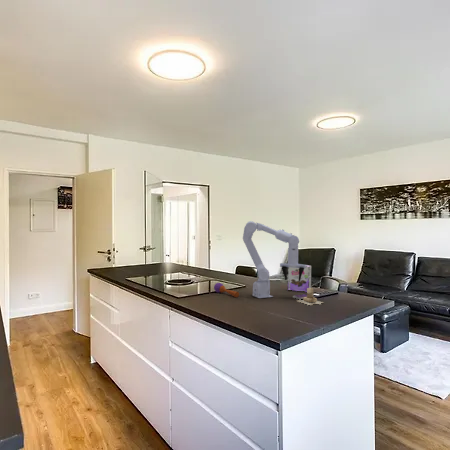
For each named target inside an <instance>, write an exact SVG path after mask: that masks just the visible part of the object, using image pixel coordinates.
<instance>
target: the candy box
mask: <svg viewBox="0 0 450 450" xmlns="http://www.w3.org/2000/svg"><path fill="white" fill-rule="evenodd" d="M305 265H306V268H304V271H303V273H302V275H301V280H300V281H299V268H293V267H296V266H292V267H287V291H288V290H292V291H291V292H297V291H305V292H304V293H306V292H307V288H312V265H308V264H305Z"/></svg>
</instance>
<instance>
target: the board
mask: <svg viewBox="0 0 450 450" xmlns="http://www.w3.org/2000/svg"><path fill="white" fill-rule="evenodd" d="M296 302H297V303H300V302H301V303H300V304H302V303H304V304H303V305H305V304H307V305H306V306H308V305H310V306H314V305H313V304H319V305H322V304H321V303H324V302H323V301H320V300H317V302H313V303H308V302H305V301H304V300H298V299H296Z"/></svg>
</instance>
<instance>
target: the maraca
mask: <svg viewBox="0 0 450 450" xmlns="http://www.w3.org/2000/svg"><path fill="white" fill-rule="evenodd" d="M213 289H214V291H215V292H216V293H219V294H220V293H222V294H223V293H225V292H226V293H228V294H230V296H232V297H234V298H239V297H240V293H239V291H236V290H231V289H227V288H226V286H225V285H224V284H223V283H221V282H216V283H215V284H214V286H213Z"/></svg>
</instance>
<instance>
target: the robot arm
mask: <svg viewBox="0 0 450 450" xmlns="http://www.w3.org/2000/svg"><path fill="white" fill-rule="evenodd" d="M256 231H258V232H265V233H268V234H270V235H273V236H274V237H275V239H276V240H278V241H281V242H283V243H286V244H287V243H288V248H287V263H285V262H284V263H279V267H280V268H281V271H282V272H283V275H284V276H283V277H284V281H288V267H292V266H296V267H293V268H299V281H300V280H301V275H302V273H303V271H304V268H306V265H307V264H302V263H299V243H300V239H299V237H298V236H297V235H295V234H293V233H291V232H290V233H289V232H287V231H286V230H285V229H274V228H272V227H270V226H268V225H265V224H262V223H260V222H255V221H252V220H250V221H247V223H245V225H244V228H243V234H242V240H243V243H244V244H245V247H246V249H247V252H248V253H249V255H250V258H251V260H252V261H253V264H254V266H255V268H256V271H257V276H258V279H257V280H255V281H254V282H253V283H252V295H251V296H252V297H255V298H258V299H264V298H265V299H266V298H273V297H274V296H273V295H270V294H271V280H270V279H269V278H270V272H269V269H267V268H266V267H265V264H264V263H263V260H262V259H261V256H260V255H259V253H258V250H257V248H256V245H255V244H254V242H253V240H252V238H253V236H254V233H255V232H256Z"/></svg>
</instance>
